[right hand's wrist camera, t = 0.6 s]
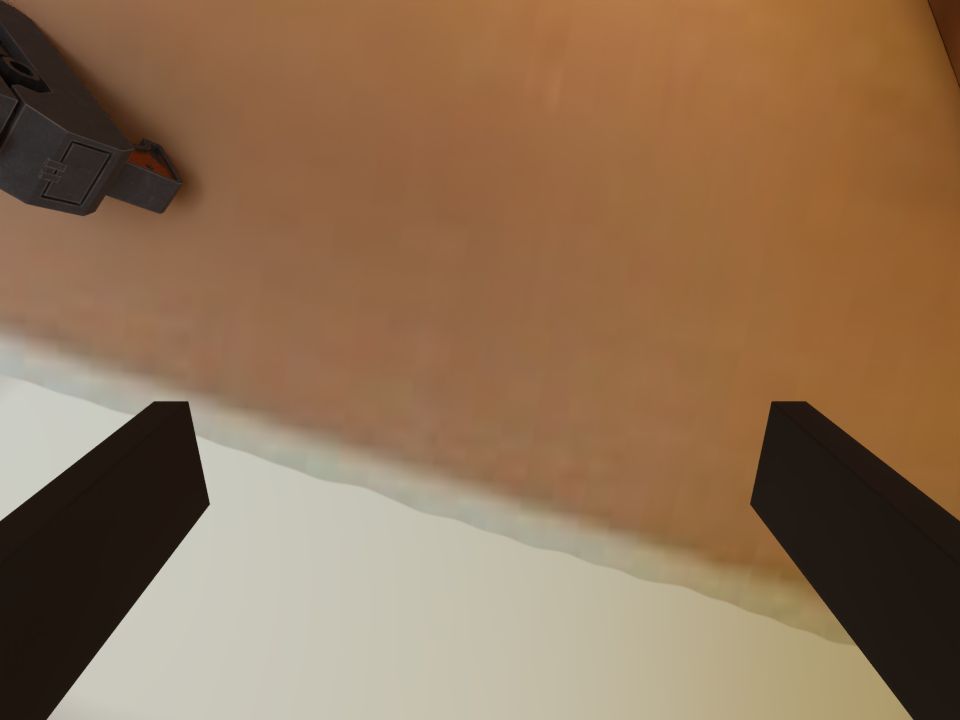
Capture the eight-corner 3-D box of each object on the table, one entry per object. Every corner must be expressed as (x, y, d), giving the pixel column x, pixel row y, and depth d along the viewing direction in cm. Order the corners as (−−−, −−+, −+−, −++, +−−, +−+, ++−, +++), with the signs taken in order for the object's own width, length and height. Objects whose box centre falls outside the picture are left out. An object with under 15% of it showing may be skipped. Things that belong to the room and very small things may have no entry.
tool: (169, 242, 42) (-96, 183, 28) (56, 91, 47) (-218, -23, 33) (212, 179, 40) (-46, 84, 26) (90, 30, 45) (-182, -118, 31)
